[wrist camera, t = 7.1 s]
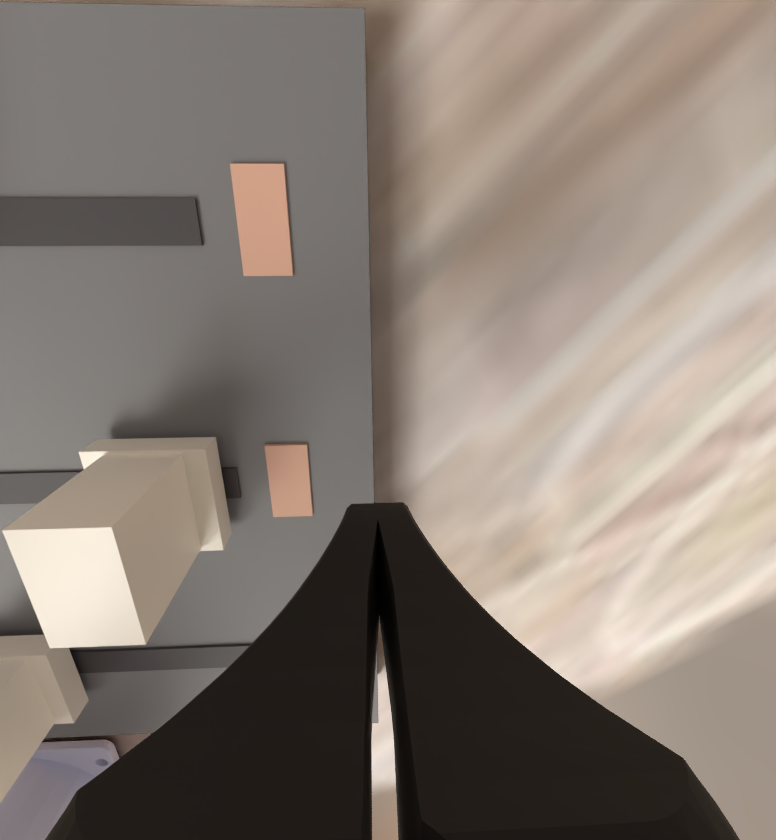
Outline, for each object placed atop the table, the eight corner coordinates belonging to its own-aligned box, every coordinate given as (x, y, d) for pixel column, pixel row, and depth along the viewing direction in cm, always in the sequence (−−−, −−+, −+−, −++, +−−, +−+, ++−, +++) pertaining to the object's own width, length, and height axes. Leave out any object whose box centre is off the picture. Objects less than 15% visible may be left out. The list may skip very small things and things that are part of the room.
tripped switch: (231, 533, 13) (175, 647, 9) (124, 536, 13) (22, 652, 9) (215, 436, 12) (142, 521, 8) (97, 439, 11) (-34, 526, 8)
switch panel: (377, 675, 18) (378, 725, 17) (-46, 693, 18) (-98, 747, 16) (365, 52, 10) (364, 5, 9) (-403, 42, 10) (-596, -12, 8)
